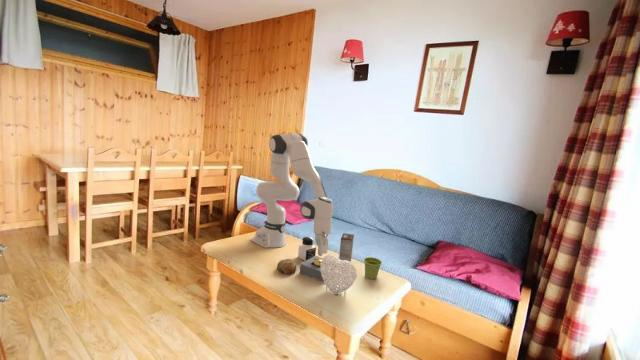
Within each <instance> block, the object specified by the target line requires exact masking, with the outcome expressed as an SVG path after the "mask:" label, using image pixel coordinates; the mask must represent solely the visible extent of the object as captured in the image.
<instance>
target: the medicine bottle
mask: <svg viewBox="0 0 640 360" xmlns="http://www.w3.org/2000/svg"><path fill="white" fill-rule="evenodd" d="M301 242H302V243H301V244H299V245H298V253H297V257H298V258H299V259H300V260H302V259H303V262H305V261H307V260H308V259H310V258H312V257H314V256H316V251H317V247H316V245H314V238H313V237H311V236H304V237H303V238H302V241H301Z"/></svg>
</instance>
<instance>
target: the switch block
mask: <svg viewBox="0 0 640 360" xmlns="http://www.w3.org/2000/svg"><path fill="white" fill-rule="evenodd" d="M314 258H322V256H319V255H318V256H317V255H315V256H314V257H312V258H310V259H308V260H307V261H303V262H302V263H300V264H299V274H301V275H303V276H306V277H309V278H312V279H314V280H316V281H320V282H322V283H325V282H324V280H323V278H322V275H321V270H320V267H317V266H315V265H313V263H314ZM325 262H326V261H325ZM330 262H332V261H330ZM327 263H328V262H327ZM330 264H331V263H330ZM330 264H329V265H330ZM325 265H326V263H325ZM332 265H334V264H332ZM335 266H336V265H335ZM327 267H328V265H327ZM329 267H330V266H329ZM331 267H332V266H331ZM334 268H335V267H334ZM325 269H326V268H325ZM332 270H333V269H332ZM326 271H327V270H326ZM327 273H328V272H327ZM324 275H325V273H324ZM333 275H334V274H333ZM326 279H327V278H326Z"/></svg>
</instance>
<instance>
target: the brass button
mask: <svg viewBox="0 0 640 360" xmlns="http://www.w3.org/2000/svg"><path fill="white" fill-rule="evenodd" d="M323 258H324V257H321V258H314V263H313V265H315V266H317V267H320V265H321V261H322V259H323Z"/></svg>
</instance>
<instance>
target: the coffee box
mask: <svg viewBox="0 0 640 360" xmlns="http://www.w3.org/2000/svg"><path fill="white" fill-rule="evenodd" d="M354 238H355V234H353V233H345V232H343V233H342V235H341V238H340V245H339V254H338V258H339V259H340V260H347V261H350V262H351V263H352V255H353V247H354V246H353V245H354ZM345 264H346V263H345ZM343 266H344V265H343Z"/></svg>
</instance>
